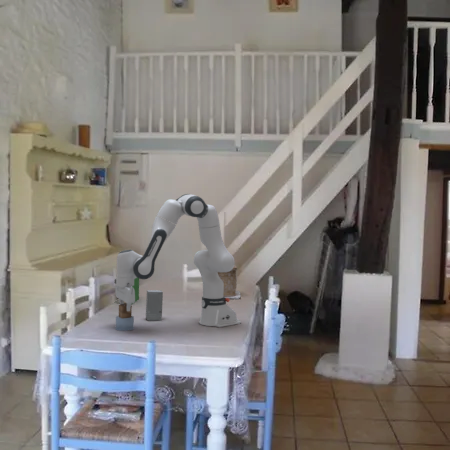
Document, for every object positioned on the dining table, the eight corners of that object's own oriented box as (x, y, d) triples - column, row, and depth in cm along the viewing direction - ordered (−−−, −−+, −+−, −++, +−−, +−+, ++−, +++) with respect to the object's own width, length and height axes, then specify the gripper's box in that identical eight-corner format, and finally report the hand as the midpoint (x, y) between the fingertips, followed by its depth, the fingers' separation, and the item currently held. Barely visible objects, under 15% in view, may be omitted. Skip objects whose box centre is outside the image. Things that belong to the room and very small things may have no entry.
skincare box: (147, 321, 291) (147, 291, 291) (145, 318, 298) (145, 289, 298) (162, 320, 294) (163, 291, 293) (160, 317, 301) (161, 289, 300)
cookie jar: (240, 299, 359) (242, 251, 357) (203, 298, 360) (204, 250, 358) (240, 293, 384) (241, 248, 382) (205, 292, 384) (206, 247, 383)
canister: (130, 325, 281) (130, 314, 281) (136, 329, 273) (136, 318, 272) (112, 327, 276) (112, 315, 276) (118, 331, 268) (118, 319, 268)
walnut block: (128, 315, 278) (128, 304, 277) (131, 317, 273) (131, 305, 273) (118, 316, 275) (118, 304, 275) (121, 318, 271) (122, 306, 270)
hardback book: (131, 304, 334) (131, 266, 333) (119, 304, 335) (120, 265, 334) (138, 299, 352) (139, 262, 351) (127, 298, 353) (128, 262, 351)
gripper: (138, 284, 266) (138, 312, 267) (124, 278, 284) (124, 305, 284) (126, 285, 263) (125, 313, 263) (113, 279, 281) (112, 306, 281)
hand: (125, 309), depth 274 cm, fingers open, 8 cm apart
